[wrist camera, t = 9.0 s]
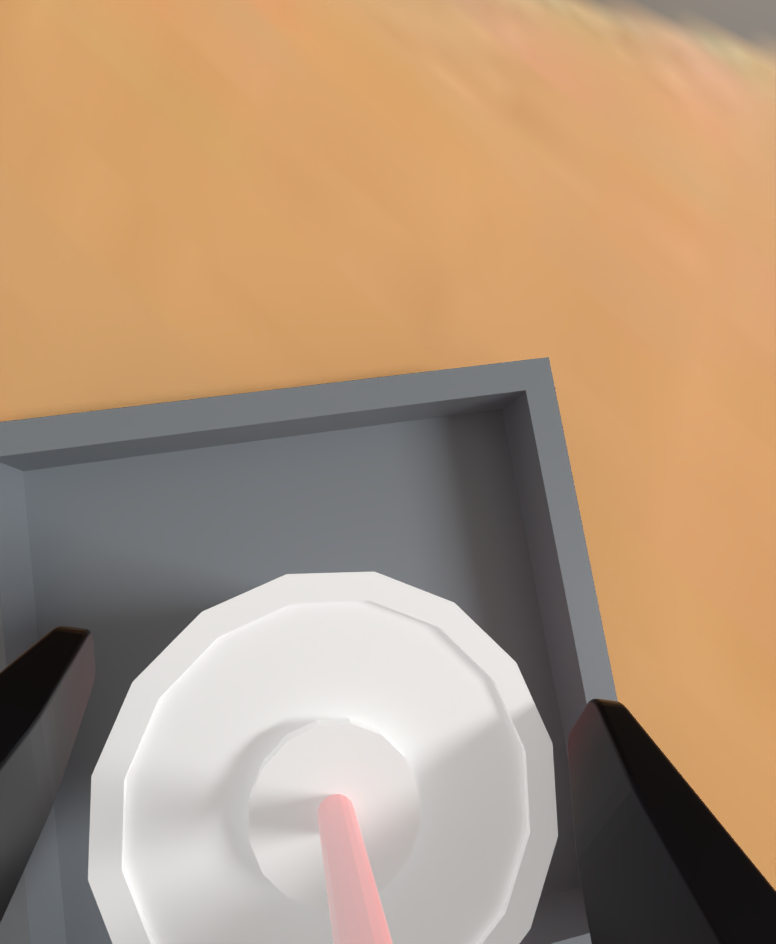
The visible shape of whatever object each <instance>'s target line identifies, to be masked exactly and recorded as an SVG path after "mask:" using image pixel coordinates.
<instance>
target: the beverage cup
mask: <svg viewBox="0 0 776 944" xmlns="http://www.w3.org/2000/svg"><path fill="white" fill-rule="evenodd" d="M557 838H558V826H557V810H556V793H555V776H554V760H553V743H552V741H551V739H550V737H549V734H548V732H547V730H546V728H545V726H544V723H543V721H542V719H541V717H540V714H539V712H538V710H537V708H536V705H535V703H534V701H533V699H532V697H531V694H530V692H529V690H528V688H527V685H526V683H525V681H524V679H523V676H522V674H521V672H520V670H519V668H518V665H517V663H516V662H515V661H514V660H513V659H512V658H511V657H510V656H509V655H508V654H507V653H506V652H505V651H504V650H503V649H502V648H501V647H500V646H499V645H498V644H497V643H496V642H495V641H494V640H493V639H491V638H490V637H489V636H488V635H487V634H486V633H485V632H484V631H483V630H482V629H481V628H480V627H479V626H478V625H477V624H476V623H475V622H474V621H473V620H472V619H471V618H470V617H469V616H468V615H467V614H466V613H465V612H464V611H463V610H461V609H460V608H459V607H458V606H457V605H456V604H455V603H454V602H451V601H449V600H446V599H444V598H441V597H439V596H436V595H434V594H431V593H428V592H426V591H423V590H421V589H418V588H416V587H413V586H410V585H408V584H405V583H403V582H400V581H398V580H395V579H392V578H390V577H387V576H385V575H382V574H380V573H377V572H341V573H306V574H286V575H283V576H281V577H279V578H277V579H274V580H272V581H270V582H268V583H265V584H263V585H261V586H259V587H256V588H254V589H252V590H250V591H247V592H245V593H243V594H241V595H238V596H236V597H234V598H232V599H229V600H227V601H225V602H223V603H220V604H218V605H216V606H214V607H211V608H209V609H207V610H205V611H202V612H201V613H200V614H199V615H198V616H197V617H196V618H195V619H194V620H193V621H192V622H191V623H190V624H189V625H188V626H187V627H186V628H185V629H184V630H183V631H182V632H181V633H180V634H179V635H178V636H177V637H176V638H175V639H174V640H173V641H172V642H171V643H170V644H169V645H168V646H167V647H166V648H165V650H164V651H163V652H162V653H161V654H160V655H159V656H158V657H157V658H156V659H155V660H154V661H153V662H152V663H151V664H150V665H149V666H148V667H147V668H146V669H145V670H144V671H143V672H142V673H141V674H140V675H139V676H138V677H137V678H136V679H135V680H134V681H133V682H132V684H131V686H130V689H129V691H128V693H127V696H126V698H125V700H124V703H123V705H122V707H121V709H120V712H119V714H118V716H117V719H116V721H115V723H114V725H113V728H112V730H111V732H110V735H109V737H108V739H107V742H106V744H105V746H104V748H103V751H102V753H101V755H100V758H99V760H98V762H97V764H96V767H95V769H94V771H93V774H92V776H91V803H90V832H89V861H88V882H89V884H90V887H91V889H92V892H93V895H94V897H95V900H96V902H97V905H98V907H99V910H100V913H101V915H102V918H103V920H104V923H105V926H106V928H107V931H108V933H109V936H110V938H111V941H112V944H519V943H520V942H521V941H522V939H523V938H524V937H525V935H526V934H527V933H528V931H529V930H530V929H531V925H532V922H533V919H534V915H535V912H536V909H537V905H538V902H539V899H540V895H541V892H542V889H543V885H544V882H545V878H546V875H547V872H548V868H549V865H550V862H551V858H552V855H553V852H554V848H555V845H556V842H557Z"/></svg>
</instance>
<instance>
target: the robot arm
mask: <svg viewBox="0 0 776 944" xmlns="http://www.w3.org/2000/svg"><path fill="white" fill-rule="evenodd" d="M94 679H95V653H94V638H93V634H92V632H91V631H90V630H89V629H86V628H79V627H72V626H65V625H64V626H58V627H56V628H54V629H52V630H51V631H50V632H49V633H47V634H46V635H45V636H44V637H42V638H41V639H40V640H39V641H38V642H36V643H35V644H34V645H33V646H31V647H30V648H29V649H28V650H27V651H25V652H24V653H23V654H22V655H21V656H19V657H18V658H17V659H16V660H14V661H13V662H12V663H11V664H10V665H8V666H7V667H6V668H5V669H3V670H2V671H1V672H0V923H1V921H2V918H3V916H4V914H5V912H6V910H7V907H8V905H9V903H10V901H11V899H12V896H13V894H14V892H15V890H16V888H17V885H18V883H19V881H20V879H21V877H22V874H23V872H24V870H25V868H26V866H27V863H28V861H29V859H30V857H31V855H32V852H33V850H34V848H35V846H36V844H37V841H38V839H39V837H40V835H41V833H42V830H43V828H44V826H45V824H46V821H47V819H48V816H49V814H50V812H51V809H52V807H53V805H54V802H55V799H56V796H57V793H58V790H59V787H60V785H61V782H62V779H63V776H64V773H65V769H66V766H67V763H68V760H69V757H70V754H71V751H72V748H73V745H74V742H75V739H76V736H77V733H78V730H79V727H80V724H81V721H82V718H83V715H84V712H85V709H86V706H87V703H88V699H89V696H90V693H91V690H92V687H93V683H94ZM567 748H568V762H569V774H570V787H571V799H572V812H573V824H574V837H575V848H576V857H577V864H578V871H579V877H580V883H581V888H582V894H583V899H584V905H585V910H586V915H587V921H588V926H589V932H590V937H591V943H592V944H776V891H775V890H774V888H773V887H772V886H771V885H770V884H769V882H768V881H767V880H766V879H765V877H764V876H763V875H762V874H761V872H760V871H759V870H758V869H757V868H756V866H755V865H754V864H753V863H752V861H751V860H750V859H749V858H748V857H747V855H746V854H745V853H744V852H743V850H742V849H741V848H740V847H739V845H738V844H737V843H736V842H735V841H734V839H733V838H732V837H731V836H730V834H729V833H728V832H727V831H726V830H725V828H724V827H723V826H722V825H721V823H720V822H719V821H718V820H717V818H716V817H715V816H714V815H713V814H712V812H711V811H710V810H709V809H708V807H707V806H706V805H705V804H704V802H703V801H702V800H701V799H700V798H699V796H698V795H697V794H696V793H695V791H694V790H693V789H692V788H691V787H690V785H689V784H688V783H687V782H686V780H685V779H684V778H683V777H682V775H681V774H680V773H679V772H678V771H677V769H676V768H675V767H674V766H673V764H672V763H671V762H670V761H669V760H668V758H667V757H666V756H665V755H664V753H663V752H662V751H661V750H660V748H659V747H658V746H657V745H656V744H655V742H654V741H653V740H652V739H651V737H650V736H649V735H648V734H647V733H646V731H645V730H644V729H643V728H642V726H641V725H640V724H639V723H638V721H637V720H636V719H635V718H634V717H633V715H632V714H631V713H630V712H629V710H628V709H627V708H626V707H625V706H624V705H623V704H621V703H620V702H617V701H611V700H604V699H592V700H590V701H589V702H588V703H587V705H586V706H585V708H584V710H583V711H582V713H581V714H580V716H579V718H578V719H577V721H576V723H575V724H574V726H573V727H572V729H571V731H570V733H569V737H568V745H567Z"/></svg>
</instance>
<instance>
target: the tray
mask: <svg viewBox="0 0 776 944" xmlns="http://www.w3.org/2000/svg"><path fill="white" fill-rule="evenodd" d="M341 572H377V573H380V574H382V575H385V576H387V577H390V578H392V579H395V580H398V581H400V582H403V583H405V584H408V585H410V586H413V587H416V588H418V589H421V590H423V591H426V592H428V593H431V594H434V595H436V596H439V597H441V598H444V599H446V600H449V601H451V602H454V603H455V604H456V605H457V606H458V607H459V608H460V609H461V610H463V611H464V612H465V613H466V614H467V615H468V616H469V617H470V618H471V619H472V620H473V621H474V622H475V623H476V624H477V625H478V626H479V627H480V628H481V629H482V630H483V631H484V632H485V633H486V634H487V635H488V636H489V637H490V638H491V639H493V640H494V641H495V642H496V643H497V644H498V645H499V646H500V647H501V648H502V649H503V650H504V651H505V652H506V653H507V654H508V655H509V656H510V657H511V658H512V659H513V660H514V661H515V662H516V663H517V665H518V668H519V670H520V672H521V674H522V676H523V679H524V681H525V683H526V685H527V688H528V690H529V692H530V694H531V697H532V699H533V701H534V703H535V705H536V708H537V710H538V712H539V714H540V717H541V719H542V721H543V723H544V726H545V728H546V730H547V732H548V734H549V737H550V739H551V741H552V743H553V760H554V776H555V793H556V810H557V826H558V838H557V842H556V845H555V848H554V852H553V855H552V858H551V862H550V865H549V868H548V872H547V875H546V878H545V882H544V885H543V889H542V892H541V895H540V899H539V902H538V905H537V909H536V912H535V915H534V919H533V922H532V925H531V929H530V930H529V931H528V933H527V934H526V935H525V937H524V938H523V939H522V941H521V942H520V943H519V944H592V943H591V937H590V932H589V926H588V921H587V915H586V910H585V905H584V899H583V894H582V888H581V883H580V877H579V871H578V864H577V857H576V848H575V837H574V824H573V812H572V799H571V787H570V774H569V762H568V748H567V745H568V737H569V733H570V731H571V729H572V727H573V726H574V724H575V723H576V721H577V719H578V718H579V716H580V714H581V713H582V711H583V710H584V708H585V706H586V705H587V703H588V702H589V701H590V700H592V699H604V700H611V701H617V696H616V691H615V686H614V681H613V676H612V671H611V666H610V661H609V656H608V651H607V646H606V641H605V636H604V631H603V626H602V621H601V616H600V611H599V606H598V601H597V596H596V591H595V586H594V581H593V576H592V571H591V566H590V561H589V556H588V551H587V546H586V541H585V536H584V531H583V526H582V521H581V516H580V511H579V506H578V501H577V496H576V491H575V486H574V481H573V476H572V471H571V466H570V461H569V456H568V451H567V446H566V441H565V436H564V431H563V426H562V421H561V416H560V411H559V406H558V402H557V397H556V392H555V387H554V382H553V377H552V372H551V367H550V362H549V357H547V358H539V359H530V360H522V361H513V362H505V363H496V364H488V365H479V366H471V367H462V368H454V369H445V370H437V371H428V372H420V373H412V374H403V375H395V376H386V377H378V378H369V379H361V380H352V381H344V382H335V383H327V384H318V385H310V386H301V387H293V388H285V389H276V390H268V391H259V392H251V393H242V394H234V395H225V396H217V397H208V398H200V399H191V400H183V401H174V402H166V403H158V404H149V405H141V406H132V407H124V408H115V409H107V410H98V411H90V412H81V413H73V414H64V415H56V416H47V417H39V418H31V419H22V420H14V421H5V422H0V672H1V671H2V670H3V669H5V668H6V667H7V666H8V665H10V664H11V663H12V662H13V661H14V660H16V659H17V658H18V657H19V656H21V655H22V654H23V653H24V652H25V651H27V650H28V649H29V648H30V647H31V646H33V645H34V644H35V643H36V642H38V641H39V640H40V639H41V638H42V637H44V636H45V635H46V634H47V633H49V632H50V631H51V630H52V629H54V628H56V627H58V626H64V625H65V626H72V627H79V628H86V629H89V630H90V631H91V632H92V634H93V638H94V653H95V679H94V683H93V687H92V690H91V693H90V696H89V699H88V703H87V706H86V709H85V712H84V715H83V718H82V721H81V724H80V727H79V730H78V733H77V736H76V739H75V742H74V745H73V748H72V751H71V754H70V757H69V760H68V763H67V766H66V769H65V773H64V776H63V779H62V782H61V785H60V787H59V790H58V793H57V796H56V799H55V802H54V805H53V807H52V809H51V812H50V814H49V816H48V819H47V821H46V824H45V826H44V828H43V830H42V833H41V835H40V837H39V839H38V841H37V844H36V846H35V848H34V850H33V852H32V855H31V857H30V859H29V861H28V863H27V866H26V868H25V870H24V872H23V874H22V877H21V879H20V881H19V883H18V885H17V888H16V890H15V892H14V894H13V896H12V899H11V901H10V903H9V905H8V907H7V910H6V912H5V914H4V916H3V918H2V921H1V923H0V944H112V941H111V938H110V936H109V933H108V931H107V928H106V926H105V923H104V920H103V918H102V915H101V913H100V910H99V907H98V905H97V902H96V900H95V897H94V895H93V892H92V889H91V887H90V884H89V882H88V861H89V832H90V803H91V776H92V774H93V771H94V769H95V767H96V764H97V762H98V760H99V758H100V755H101V753H102V751H103V748H104V746H105V744H106V742H107V739H108V737H109V735H110V732H111V730H112V728H113V725H114V723H115V721H116V719H117V716H118V714H119V712H120V709H121V707H122V705H123V703H124V700H125V698H126V696H127V693H128V691H129V689H130V686H131V684H132V682H133V681H134V680H135V679H136V678H137V677H138V676H139V675H140V674H141V673H142V672H143V671H144V670H145V669H146V668H147V667H148V666H149V665H150V664H151V663H152V662H153V661H154V660H155V659H156V658H157V657H158V656H159V655H160V654H161V653H162V652H163V651H164V650H165V648H166V647H167V646H168V645H169V644H170V643H171V642H172V641H173V640H174V639H175V638H176V637H177V636H178V635H179V634H180V633H181V632H182V631H183V630H184V629H185V628H186V627H187V626H188V625H189V624H190V623H191V622H192V621H193V620H194V619H195V618H196V617H197V616H198V615H199V614H200V613H201V612H202V611H205V610H207V609H209V608H211V607H214V606H216V605H218V604H220V603H223V602H225V601H227V600H229V599H232V598H234V597H236V596H238V595H241V594H243V593H245V592H247V591H250V590H252V589H254V588H256V587H259V586H261V585H263V584H265V583H268V582H270V581H272V580H274V579H277V578H279V577H281V576H283V575H286V574H306V573H341ZM617 702H618V701H617Z"/></svg>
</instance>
